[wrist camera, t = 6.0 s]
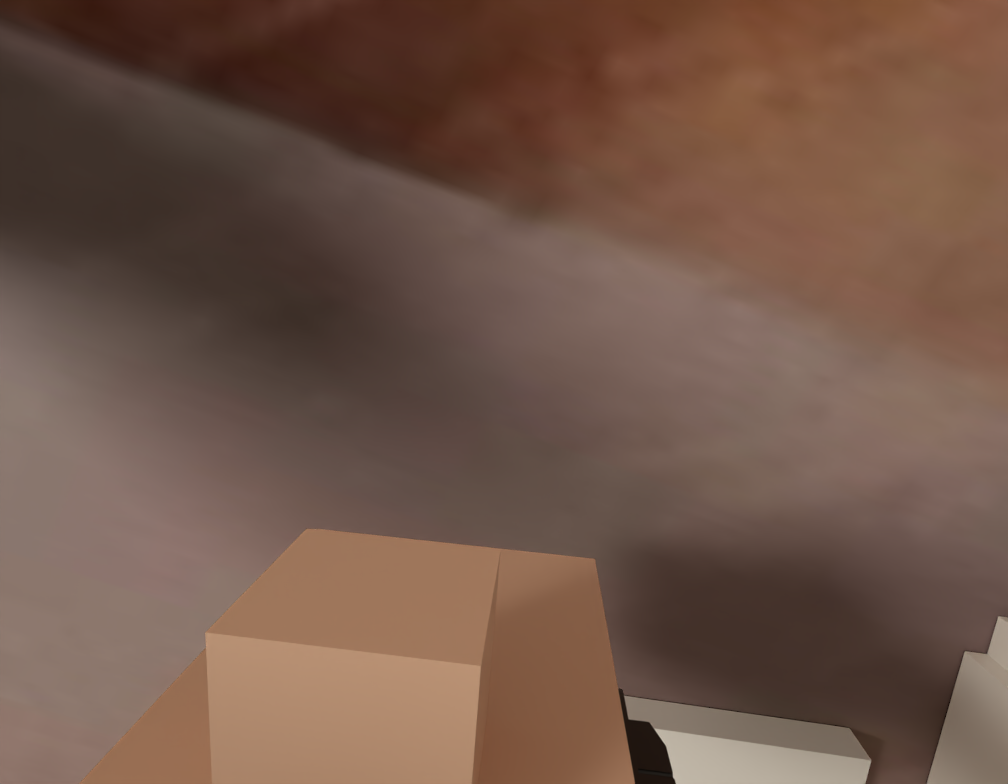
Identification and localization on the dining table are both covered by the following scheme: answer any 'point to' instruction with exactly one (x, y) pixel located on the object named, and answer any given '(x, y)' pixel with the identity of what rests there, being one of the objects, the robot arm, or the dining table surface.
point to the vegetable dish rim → (977, 719)
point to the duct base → (751, 746)
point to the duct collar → (393, 675)
